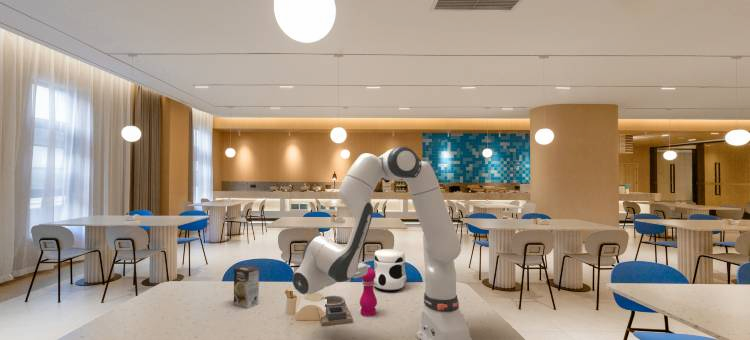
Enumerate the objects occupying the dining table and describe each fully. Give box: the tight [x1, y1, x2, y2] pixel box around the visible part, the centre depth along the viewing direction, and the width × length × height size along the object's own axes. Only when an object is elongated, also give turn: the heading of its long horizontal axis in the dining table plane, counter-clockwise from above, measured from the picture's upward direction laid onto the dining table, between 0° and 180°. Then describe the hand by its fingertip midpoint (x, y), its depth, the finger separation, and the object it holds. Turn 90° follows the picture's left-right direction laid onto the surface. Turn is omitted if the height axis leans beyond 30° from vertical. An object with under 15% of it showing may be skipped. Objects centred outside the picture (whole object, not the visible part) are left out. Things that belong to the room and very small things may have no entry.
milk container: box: [373, 248, 408, 292], centre depth 170 cm, size 17×17×18 cm
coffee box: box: [233, 265, 260, 309], centre depth 148 cm, size 9×6×16 cm
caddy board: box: [319, 295, 354, 327], centre depth 138 cm, size 20×12×4 cm, turn 16°
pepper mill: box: [359, 264, 378, 317], centre depth 139 cm, size 7×7×20 cm
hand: (352, 262), depth 129 cm, fingers open, 8 cm apart
